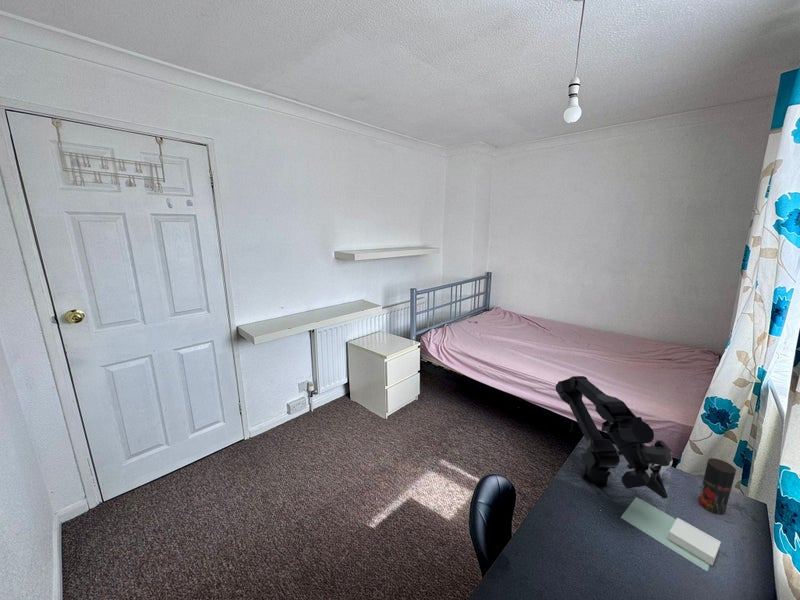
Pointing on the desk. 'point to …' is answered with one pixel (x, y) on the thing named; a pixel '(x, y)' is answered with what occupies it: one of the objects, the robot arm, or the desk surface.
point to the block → (694, 541)
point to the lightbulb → (664, 468)
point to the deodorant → (716, 486)
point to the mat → (657, 527)
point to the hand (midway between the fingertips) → (665, 497)
